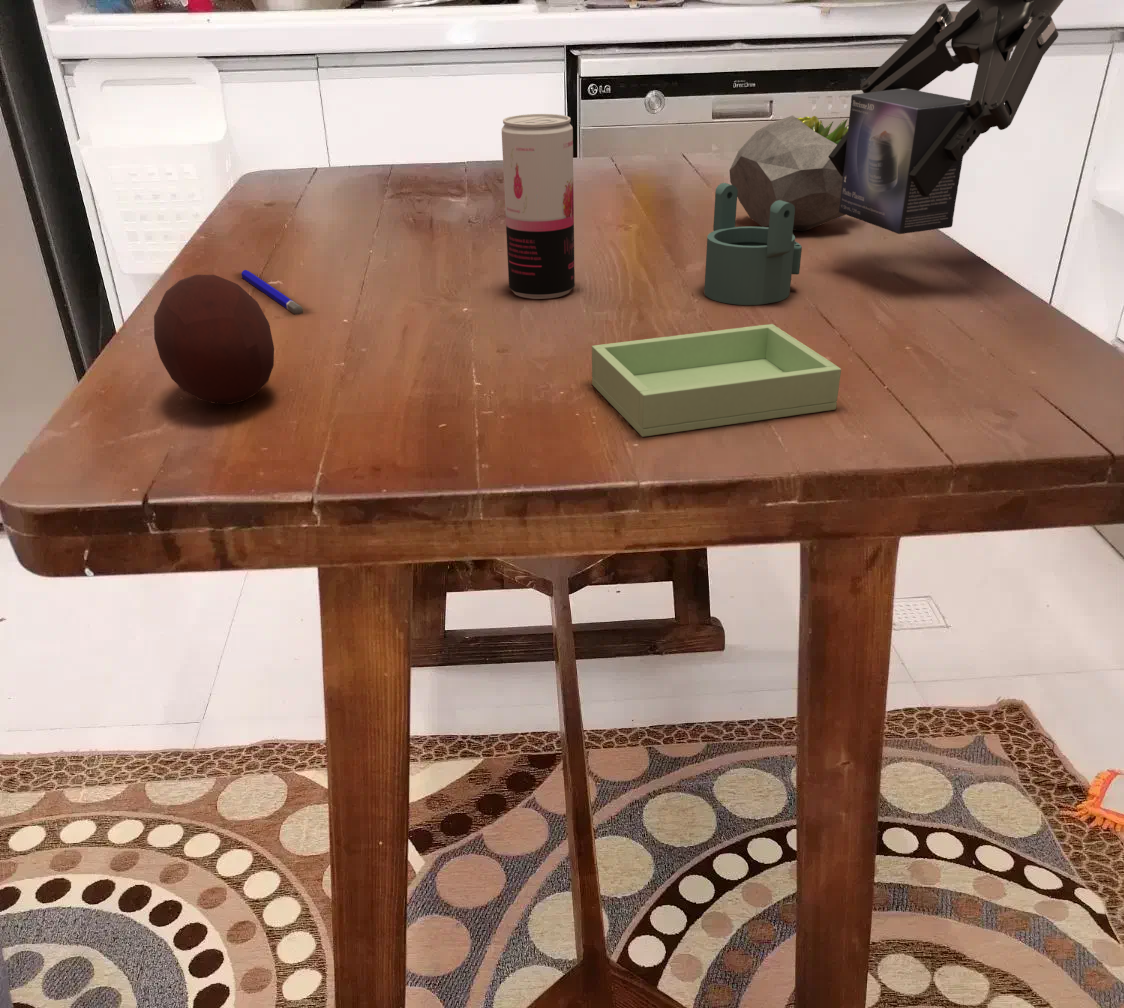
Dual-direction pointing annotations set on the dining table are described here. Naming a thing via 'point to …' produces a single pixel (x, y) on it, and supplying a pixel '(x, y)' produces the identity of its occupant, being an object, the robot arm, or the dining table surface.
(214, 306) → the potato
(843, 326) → the dining table surface
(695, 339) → the tray
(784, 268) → the bracket
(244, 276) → the pencil
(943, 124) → the small box
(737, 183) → the potted plant
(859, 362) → the dining table surface
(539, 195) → the beverage can
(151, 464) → the dining table surface
